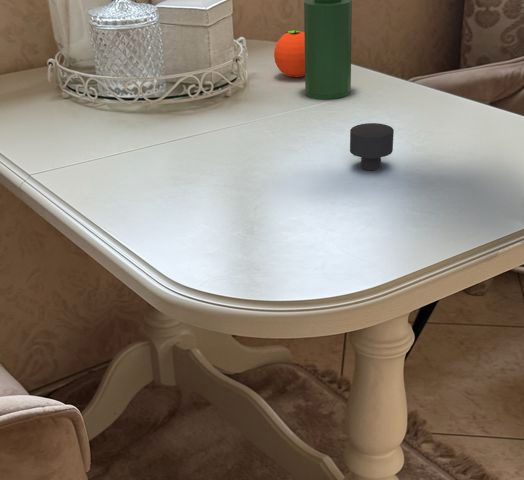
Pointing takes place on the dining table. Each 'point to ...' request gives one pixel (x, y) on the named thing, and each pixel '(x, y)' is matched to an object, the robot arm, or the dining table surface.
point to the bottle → (327, 48)
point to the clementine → (291, 53)
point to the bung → (371, 143)
